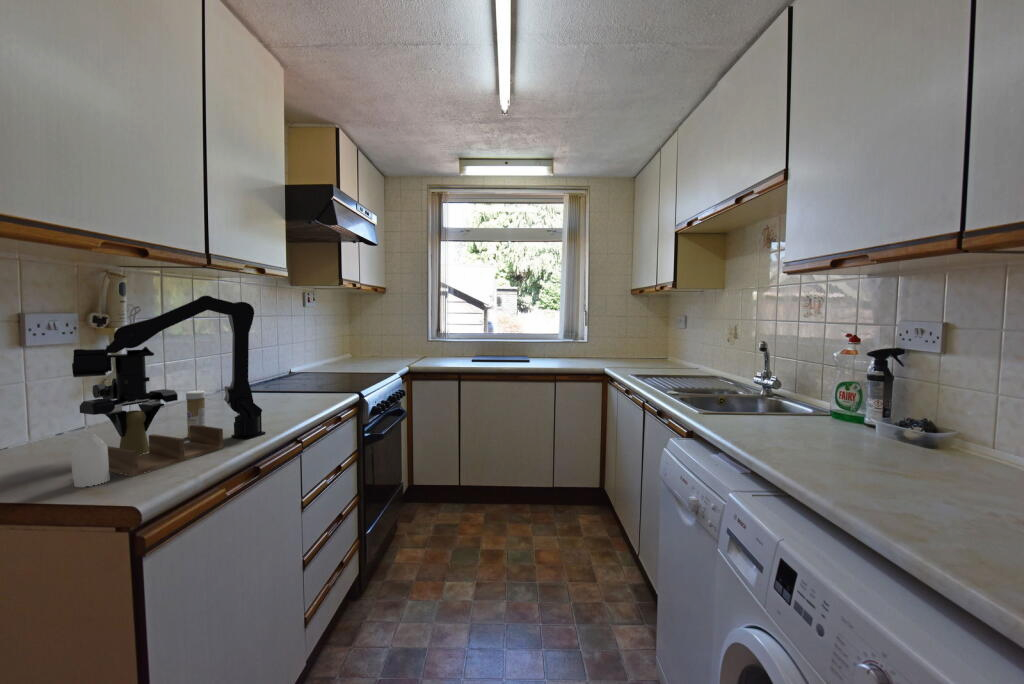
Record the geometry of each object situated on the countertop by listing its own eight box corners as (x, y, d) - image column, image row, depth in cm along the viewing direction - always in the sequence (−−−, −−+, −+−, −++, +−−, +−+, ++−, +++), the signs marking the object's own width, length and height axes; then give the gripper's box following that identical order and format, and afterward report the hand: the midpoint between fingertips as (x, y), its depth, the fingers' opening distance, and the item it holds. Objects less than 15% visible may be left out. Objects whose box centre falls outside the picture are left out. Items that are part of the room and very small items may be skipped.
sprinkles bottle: (183, 438, 123) (181, 392, 122) (196, 433, 128) (195, 389, 127) (197, 439, 122) (195, 393, 122) (210, 434, 127) (209, 390, 126)
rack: (193, 444, 118) (193, 424, 117) (223, 448, 114) (222, 428, 114) (100, 470, 98) (99, 446, 97) (133, 476, 94) (132, 452, 94)
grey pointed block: (114, 425, 92) (85, 432, 87) (117, 478, 93) (88, 489, 88) (91, 423, 93) (61, 430, 88) (93, 476, 94) (64, 486, 88)
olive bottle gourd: (131, 457, 106) (129, 414, 105) (112, 455, 107) (110, 413, 107) (155, 450, 112) (154, 409, 111) (137, 448, 113) (135, 408, 113)
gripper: (150, 368, 120) (152, 422, 121) (63, 377, 102) (66, 440, 103) (178, 370, 116) (180, 426, 117) (93, 380, 99) (96, 445, 100)
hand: (133, 434), depth 109 cm, fingers closed on olive bottle gourd, 5 cm apart
